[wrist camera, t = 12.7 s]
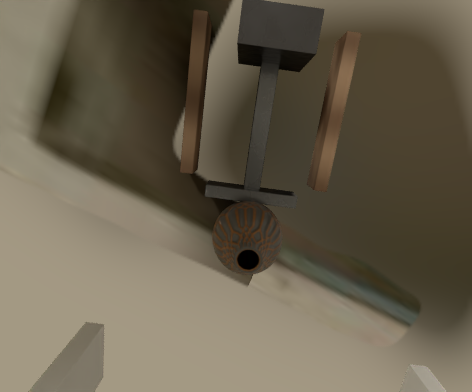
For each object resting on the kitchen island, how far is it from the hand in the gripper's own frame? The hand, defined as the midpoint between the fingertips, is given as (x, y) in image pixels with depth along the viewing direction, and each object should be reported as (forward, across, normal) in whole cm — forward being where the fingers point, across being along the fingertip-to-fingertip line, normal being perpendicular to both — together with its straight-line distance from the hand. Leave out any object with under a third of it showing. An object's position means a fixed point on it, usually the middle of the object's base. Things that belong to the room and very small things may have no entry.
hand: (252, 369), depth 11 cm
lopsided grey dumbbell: (+19, 0, +8) cm, 20 cm away
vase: (+19, 0, 0) cm, 19 cm away
